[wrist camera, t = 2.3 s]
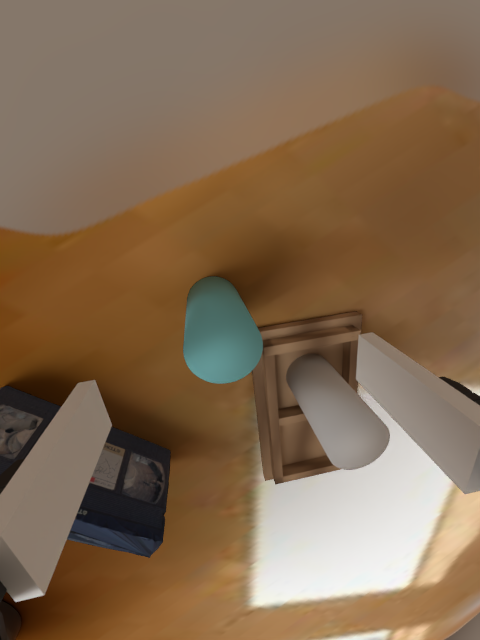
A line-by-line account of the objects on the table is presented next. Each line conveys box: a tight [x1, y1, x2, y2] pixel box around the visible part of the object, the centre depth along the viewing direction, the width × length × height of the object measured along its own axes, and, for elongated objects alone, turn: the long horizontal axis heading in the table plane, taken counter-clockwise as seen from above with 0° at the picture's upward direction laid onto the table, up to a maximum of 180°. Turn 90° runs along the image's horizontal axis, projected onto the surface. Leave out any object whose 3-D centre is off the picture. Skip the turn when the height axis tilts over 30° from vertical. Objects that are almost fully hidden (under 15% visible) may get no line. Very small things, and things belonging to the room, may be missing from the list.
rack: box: [252, 311, 362, 484], centre depth 31 cm, size 12×21×2 cm, turn 7°
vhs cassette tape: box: [0, 386, 171, 558], centre depth 25 cm, size 18×3×10 cm, turn 52°
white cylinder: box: [286, 354, 390, 470], centre depth 25 cm, size 5×5×10 cm
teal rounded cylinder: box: [183, 276, 263, 384], centre depth 22 cm, size 5×5×10 cm
